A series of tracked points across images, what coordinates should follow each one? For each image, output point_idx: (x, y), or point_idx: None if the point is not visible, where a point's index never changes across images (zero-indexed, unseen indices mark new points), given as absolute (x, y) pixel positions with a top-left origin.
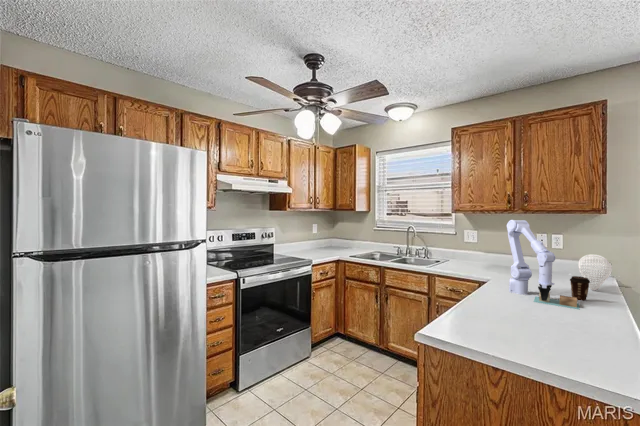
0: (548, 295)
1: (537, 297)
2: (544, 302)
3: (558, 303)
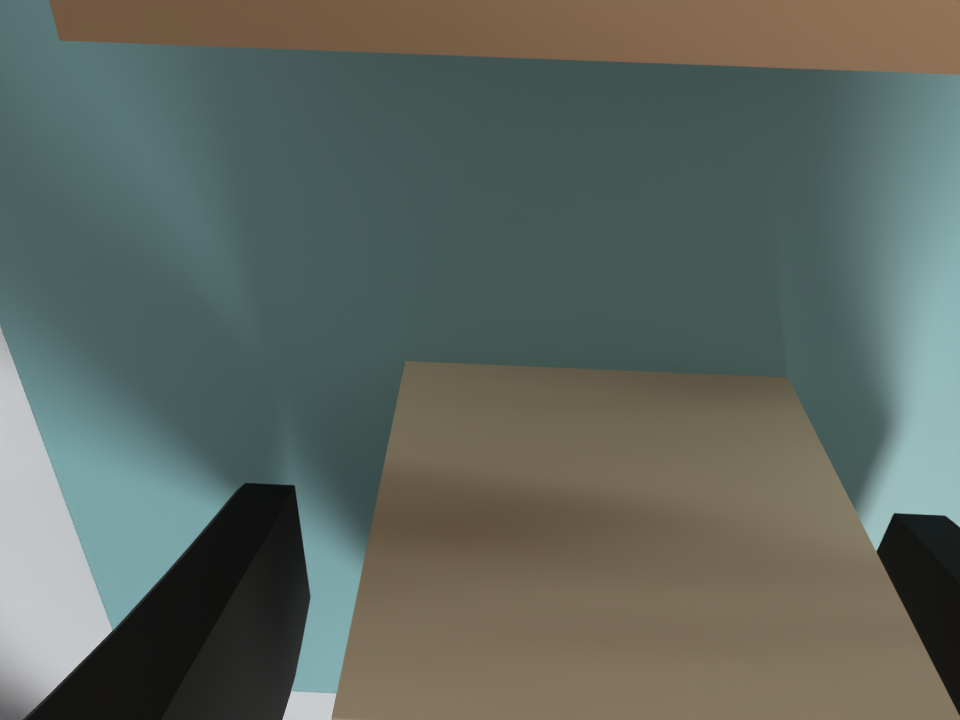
0: (895, 676)
1: None
2: (913, 511)
3: None
